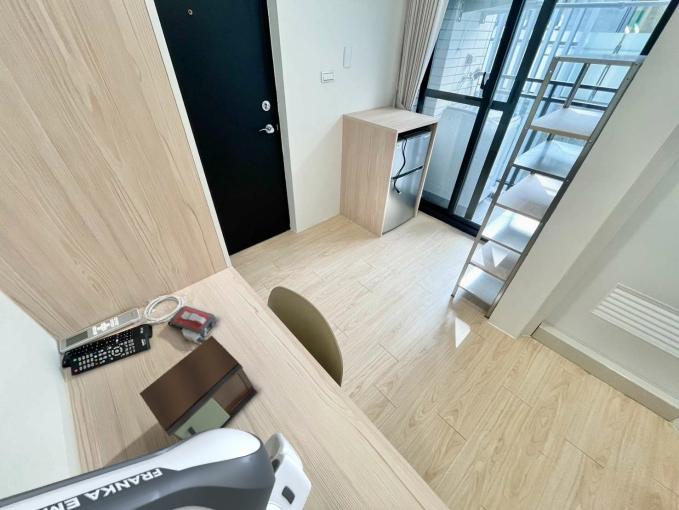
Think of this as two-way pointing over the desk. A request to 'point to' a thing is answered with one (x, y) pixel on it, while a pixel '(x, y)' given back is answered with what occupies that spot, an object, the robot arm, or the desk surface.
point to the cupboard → (199, 386)
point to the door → (204, 420)
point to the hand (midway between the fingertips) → (225, 483)
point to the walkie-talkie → (193, 323)
